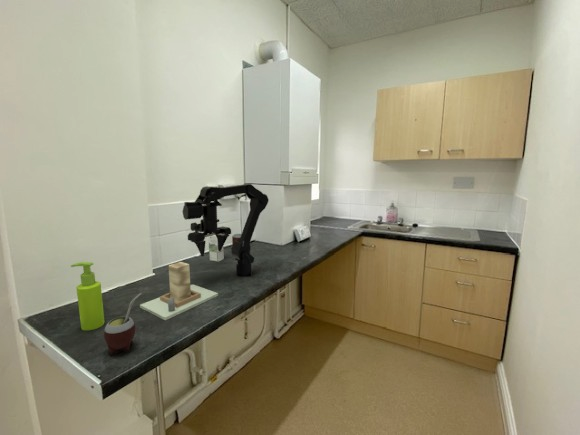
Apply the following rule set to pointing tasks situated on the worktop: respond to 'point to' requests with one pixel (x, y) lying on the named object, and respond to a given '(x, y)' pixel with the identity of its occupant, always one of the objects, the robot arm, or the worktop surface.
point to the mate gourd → (120, 332)
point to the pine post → (179, 281)
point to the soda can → (235, 238)
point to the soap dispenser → (89, 299)
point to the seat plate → (177, 303)
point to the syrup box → (215, 249)
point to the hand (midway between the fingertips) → (211, 253)
